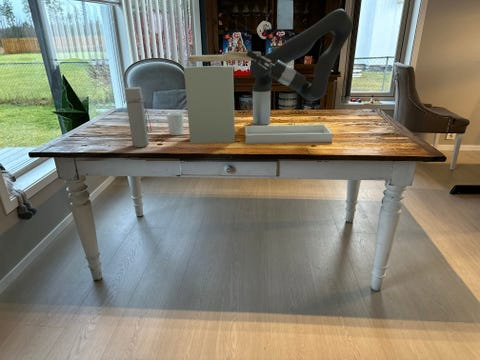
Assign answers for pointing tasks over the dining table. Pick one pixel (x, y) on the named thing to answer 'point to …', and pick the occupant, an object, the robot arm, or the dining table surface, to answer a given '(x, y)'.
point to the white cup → (175, 123)
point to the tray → (288, 134)
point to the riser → (210, 104)
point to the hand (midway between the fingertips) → (247, 52)
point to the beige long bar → (222, 57)
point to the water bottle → (137, 116)
